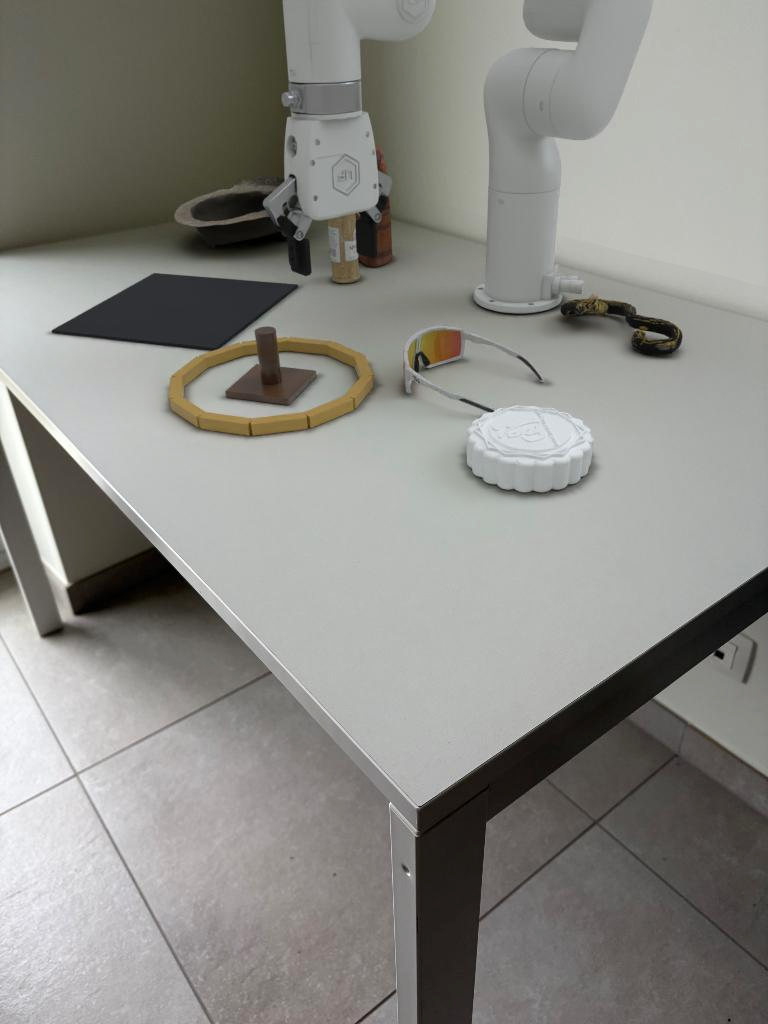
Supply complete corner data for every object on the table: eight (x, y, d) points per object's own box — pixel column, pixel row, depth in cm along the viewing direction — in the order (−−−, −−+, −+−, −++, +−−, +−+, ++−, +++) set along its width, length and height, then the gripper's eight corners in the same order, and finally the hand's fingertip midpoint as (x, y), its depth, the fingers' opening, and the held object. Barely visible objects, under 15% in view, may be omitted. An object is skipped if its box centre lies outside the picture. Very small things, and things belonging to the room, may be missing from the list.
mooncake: (456, 436, 83) (456, 405, 81) (569, 427, 83) (573, 396, 81) (479, 499, 73) (480, 465, 71) (607, 488, 73) (612, 454, 71)
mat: (298, 286, 124) (297, 284, 124) (216, 350, 104) (215, 348, 104) (154, 275, 132) (154, 272, 132) (52, 332, 112) (51, 330, 111)
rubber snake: (695, 314, 95) (618, 331, 93) (692, 350, 97) (617, 368, 96) (620, 274, 109) (552, 289, 108) (619, 307, 112) (553, 322, 110)
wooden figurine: (402, 263, 132) (399, 145, 122) (366, 269, 130) (360, 150, 120) (373, 246, 141) (368, 134, 131) (340, 251, 139) (332, 139, 129)
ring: (397, 357, 100) (397, 347, 99) (325, 446, 82) (324, 434, 81) (231, 340, 107) (230, 330, 106) (131, 419, 89) (128, 407, 88)
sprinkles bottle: (361, 282, 125) (356, 192, 117) (332, 285, 124) (325, 194, 117) (358, 273, 128) (353, 185, 121) (330, 276, 128) (323, 187, 120)
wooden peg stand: (316, 376, 96) (311, 320, 92) (288, 405, 90) (282, 347, 86) (257, 369, 99) (249, 314, 95) (226, 397, 92) (216, 340, 88)
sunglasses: (442, 349, 101) (447, 312, 98) (549, 391, 95) (558, 353, 92) (377, 391, 92) (380, 352, 89) (491, 441, 86) (499, 401, 82)
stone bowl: (338, 225, 152) (333, 174, 146) (269, 275, 135) (261, 219, 129) (229, 214, 161) (221, 165, 155) (152, 259, 144) (139, 206, 138)
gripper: (278, 112, 77) (293, 288, 86) (411, 95, 86) (411, 256, 95) (236, 105, 81) (254, 273, 91) (366, 90, 91) (371, 244, 100)
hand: (335, 264), depth 93 cm, fingers open, 9 cm apart
